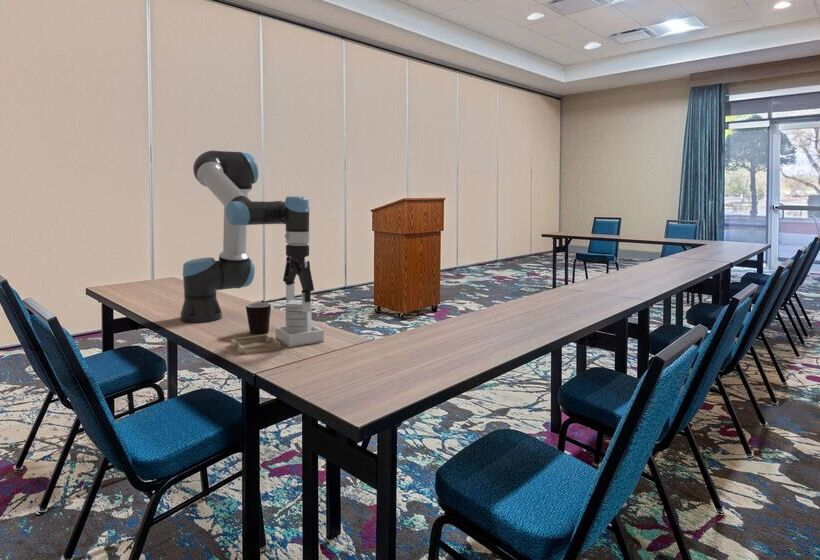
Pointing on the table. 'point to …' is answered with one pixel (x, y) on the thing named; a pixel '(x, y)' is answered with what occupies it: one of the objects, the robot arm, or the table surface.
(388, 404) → the table surface
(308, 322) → the supplement box
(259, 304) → the coffee mug
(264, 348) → the corral
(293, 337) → the bin
